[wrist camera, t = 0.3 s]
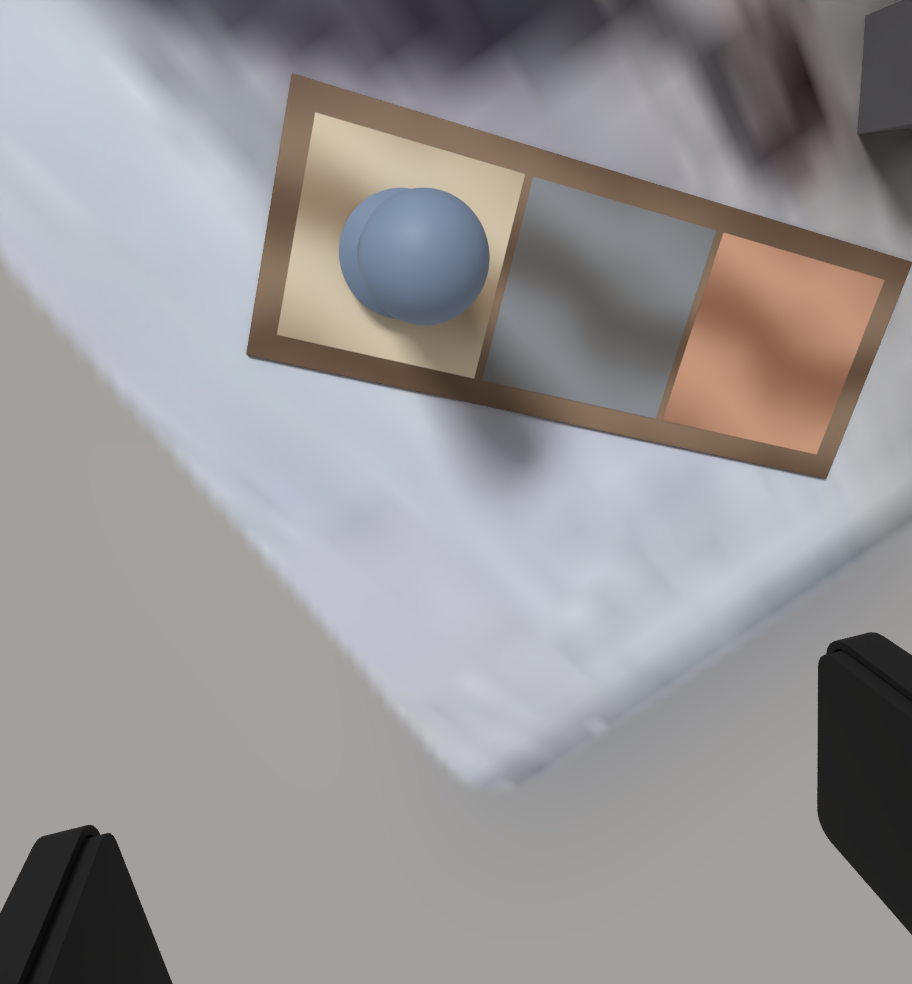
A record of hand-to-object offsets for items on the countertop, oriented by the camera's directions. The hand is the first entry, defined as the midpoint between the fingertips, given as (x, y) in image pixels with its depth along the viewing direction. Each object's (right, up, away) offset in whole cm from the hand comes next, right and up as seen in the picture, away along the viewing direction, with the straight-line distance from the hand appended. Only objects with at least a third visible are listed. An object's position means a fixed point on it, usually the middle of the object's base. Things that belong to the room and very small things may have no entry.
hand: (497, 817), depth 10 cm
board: (+6, +13, +27) cm, 31 cm away
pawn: (-3, +15, +24) cm, 29 cm away
